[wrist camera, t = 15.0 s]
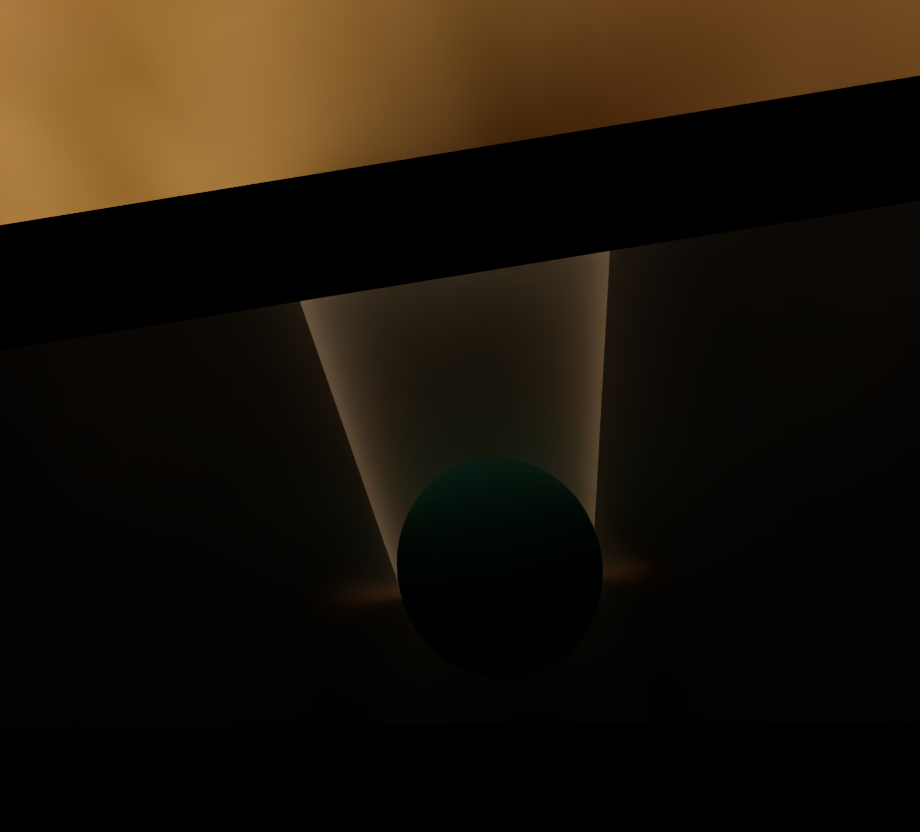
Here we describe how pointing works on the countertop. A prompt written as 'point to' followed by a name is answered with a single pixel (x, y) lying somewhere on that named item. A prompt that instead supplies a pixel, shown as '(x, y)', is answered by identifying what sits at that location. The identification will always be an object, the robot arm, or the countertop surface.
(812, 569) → the gray rectangular prism
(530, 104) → the countertop surface
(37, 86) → the countertop surface
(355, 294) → the white rectangular prism
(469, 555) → the ball
